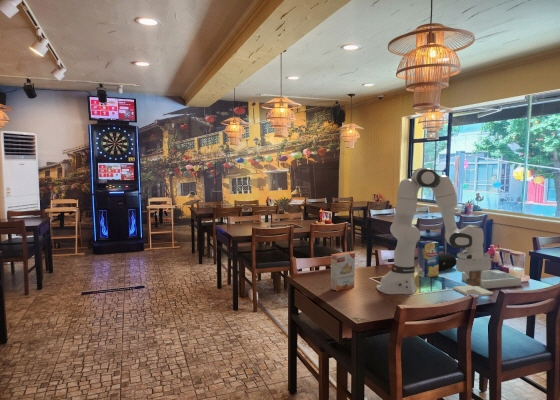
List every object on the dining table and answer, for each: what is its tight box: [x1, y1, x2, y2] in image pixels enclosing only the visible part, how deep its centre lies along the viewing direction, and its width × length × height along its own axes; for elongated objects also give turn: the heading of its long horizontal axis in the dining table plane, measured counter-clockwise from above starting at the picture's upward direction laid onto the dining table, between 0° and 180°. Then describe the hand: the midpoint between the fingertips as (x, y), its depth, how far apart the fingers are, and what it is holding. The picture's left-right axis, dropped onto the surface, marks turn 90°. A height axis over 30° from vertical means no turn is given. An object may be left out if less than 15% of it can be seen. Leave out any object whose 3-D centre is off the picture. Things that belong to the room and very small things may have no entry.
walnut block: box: [465, 271, 481, 286], centre depth 200 cm, size 5×5×8 cm
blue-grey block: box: [491, 270, 506, 280], centre depth 217 cm, size 5×5×6 cm
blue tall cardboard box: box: [417, 240, 440, 278], centre depth 233 cm, size 7×11×22 cm, turn 108°
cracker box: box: [330, 251, 356, 292], centre depth 209 cm, size 14×6×21 cm, turn 123°
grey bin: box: [461, 269, 522, 290], centre depth 216 cm, size 26×18×5 cm
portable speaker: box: [439, 253, 457, 271], centre depth 247 cm, size 26×10×10 cm, turn 113°
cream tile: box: [453, 284, 494, 297], centre depth 201 cm, size 14×14×2 cm
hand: (473, 278), depth 200 cm, fingers closed on walnut block, 5 cm apart
